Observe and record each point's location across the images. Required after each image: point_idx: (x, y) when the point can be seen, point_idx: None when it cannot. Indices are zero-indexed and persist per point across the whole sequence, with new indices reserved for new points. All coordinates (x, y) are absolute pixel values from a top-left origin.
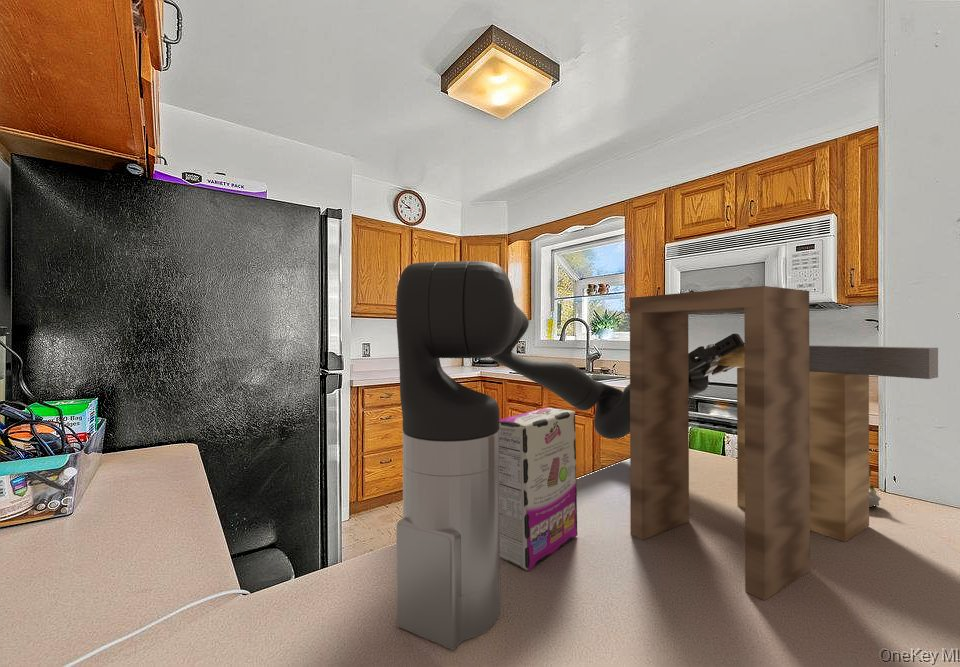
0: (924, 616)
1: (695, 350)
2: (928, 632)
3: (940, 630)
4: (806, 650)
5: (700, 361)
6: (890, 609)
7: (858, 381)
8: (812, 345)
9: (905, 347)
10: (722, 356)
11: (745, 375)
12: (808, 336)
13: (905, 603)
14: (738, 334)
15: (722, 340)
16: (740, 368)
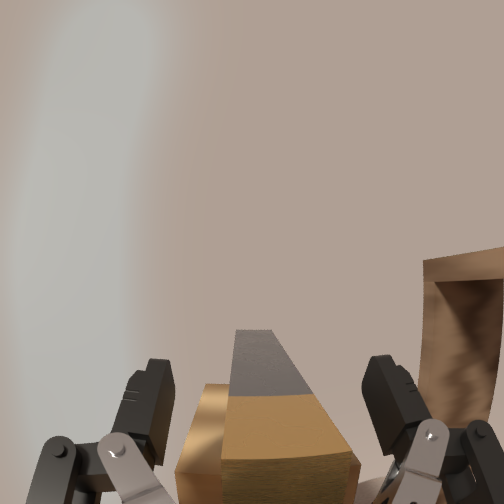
0: (361, 489)
1: (494, 440)
2: (376, 482)
3: (367, 483)
4: None
5: (469, 471)
6: (374, 494)
7: None
8: (252, 357)
9: (254, 333)
10: (392, 453)
11: (500, 344)
12: (424, 315)
13: (357, 496)
14: (372, 357)
15: (406, 392)
16: (357, 460)
